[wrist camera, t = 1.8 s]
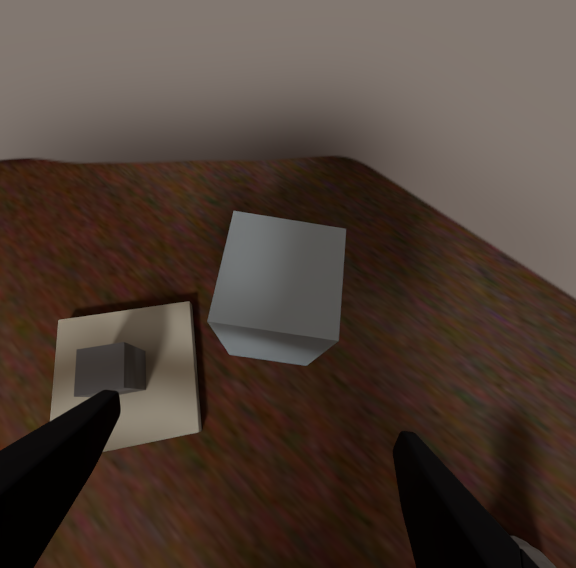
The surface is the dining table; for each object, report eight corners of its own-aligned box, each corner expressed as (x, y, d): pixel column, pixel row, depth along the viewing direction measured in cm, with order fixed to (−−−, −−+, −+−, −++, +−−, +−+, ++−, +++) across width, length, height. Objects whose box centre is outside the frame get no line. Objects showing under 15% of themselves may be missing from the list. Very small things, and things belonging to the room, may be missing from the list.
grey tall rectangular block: (306, 365, 22) (338, 341, 13) (229, 354, 22) (207, 321, 13) (314, 293, 25) (346, 228, 15) (243, 283, 24) (233, 210, 15)
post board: (201, 430, 20) (186, 438, 16) (56, 460, 19) (-1, 477, 15) (192, 305, 23) (177, 284, 19) (67, 323, 22) (22, 305, 18)
